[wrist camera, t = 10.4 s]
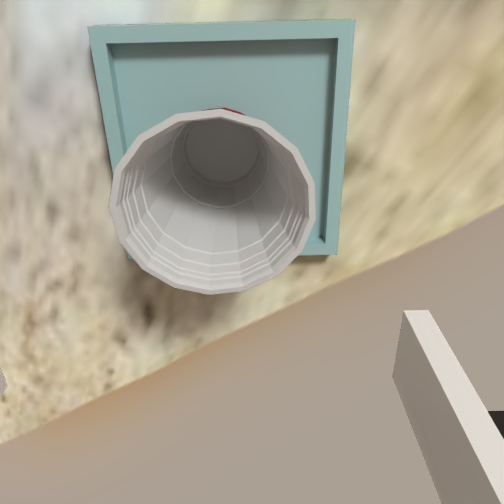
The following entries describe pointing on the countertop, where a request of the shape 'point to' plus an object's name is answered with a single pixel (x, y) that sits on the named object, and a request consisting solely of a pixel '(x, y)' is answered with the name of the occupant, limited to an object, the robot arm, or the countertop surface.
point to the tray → (236, 89)
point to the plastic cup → (212, 201)
